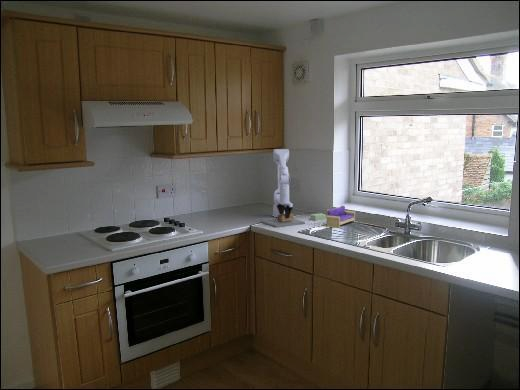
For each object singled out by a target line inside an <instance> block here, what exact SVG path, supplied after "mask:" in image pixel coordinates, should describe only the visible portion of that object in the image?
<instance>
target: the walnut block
mask: <svg viewBox="0 0 520 390" xmlns="http://www.w3.org/2000/svg"><path fill="white" fill-rule="evenodd" d="M276 219H277V220H278V221H282V222H284V221H290V220H293V219H294V214H293V213H290V216H289V218H286V217H285V214H278V215H277V218H276Z"/></svg>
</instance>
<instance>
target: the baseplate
mask: <svg viewBox="0 0 520 390" xmlns="http://www.w3.org/2000/svg"><path fill="white" fill-rule="evenodd" d="M260 223H261V224H264V223H265V224H264V225H267V226H270V227H273V228H283V227H289V226H290V227H291V226H297V225H298V226H299V225H304V224H305V221H303V220H299V219H296V218H293V220H290V221H284V222H282V221H278V220H277V218H270V219H262V220H260Z"/></svg>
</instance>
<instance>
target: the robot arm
mask: <svg viewBox="0 0 520 390" xmlns="http://www.w3.org/2000/svg"><path fill="white" fill-rule="evenodd" d="M272 153H273V154H272V155H273V156H272V158H273V163H275V164H276V167H277V189H275V190H274V191H273V203H274V204H273V205H272V216H274V217H273V218H276V217H277V215H278V214H285V217H286V218H289V216H290V214H292V213H291V212H292V210H293V208H294V204H293V203H292V201H290V184H291V176H290V173H289V167H288V166H287V163H288V161H289V158H290V149H289V148H274V149H273V152H272Z"/></svg>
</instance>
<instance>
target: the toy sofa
mask: <svg viewBox="0 0 520 390" xmlns="http://www.w3.org/2000/svg"><path fill="white" fill-rule="evenodd" d="M350 221H353V222H355V221H356V211H350V210H346V207H345V205H340V206H339V207H335V208H333V209H327V210H326V227H329V228H337V229H340V228H341V225H344V224H347V223H351V222H350ZM353 222H352V223H353Z"/></svg>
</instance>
